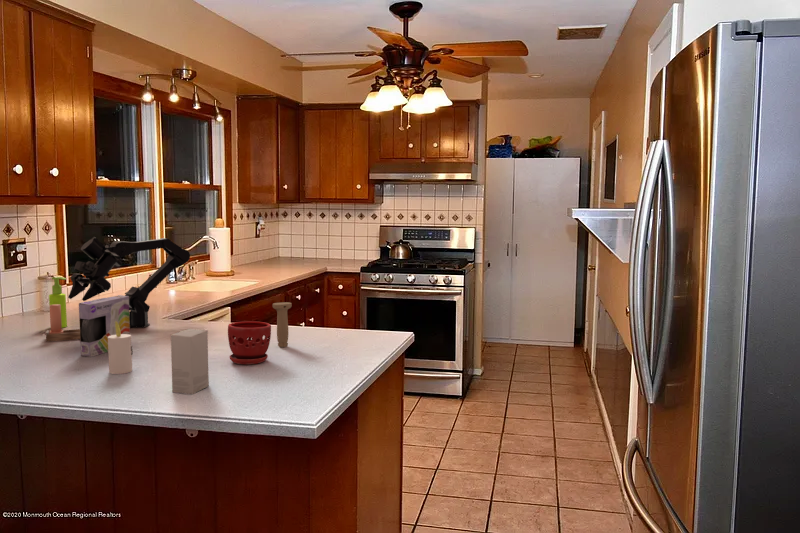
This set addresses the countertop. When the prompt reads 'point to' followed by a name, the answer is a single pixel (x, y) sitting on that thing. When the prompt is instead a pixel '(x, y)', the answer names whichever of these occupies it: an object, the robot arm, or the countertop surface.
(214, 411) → the countertop surface
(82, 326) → the cake pan box
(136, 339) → the countertop surface
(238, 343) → the plant pot
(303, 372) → the countertop surface
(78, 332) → the track
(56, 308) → the slider knob
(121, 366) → the candle
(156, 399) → the countertop surface
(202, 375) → the skincare box
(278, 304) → the handle
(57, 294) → the soap dispenser
